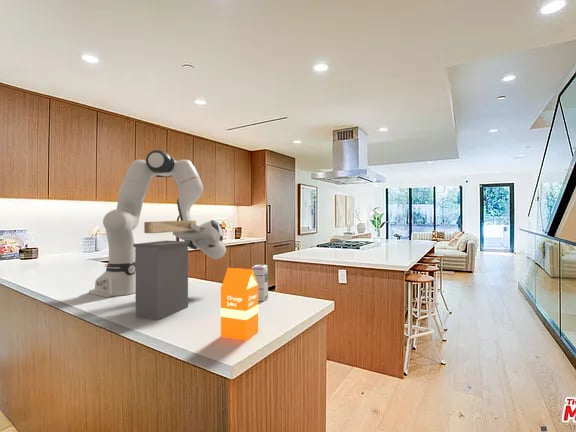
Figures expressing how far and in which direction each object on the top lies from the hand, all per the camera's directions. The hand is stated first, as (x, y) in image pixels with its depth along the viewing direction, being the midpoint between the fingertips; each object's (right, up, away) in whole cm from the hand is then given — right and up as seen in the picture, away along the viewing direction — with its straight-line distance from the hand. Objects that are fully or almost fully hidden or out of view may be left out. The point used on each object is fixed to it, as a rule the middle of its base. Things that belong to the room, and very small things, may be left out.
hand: (184, 224), depth 130 cm
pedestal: (-4, -32, -11) cm, 35 cm away
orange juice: (+28, -33, -34) cm, 54 cm away
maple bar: (-3, -3, -7) cm, 8 cm away
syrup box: (+30, -33, +6) cm, 45 cm away
